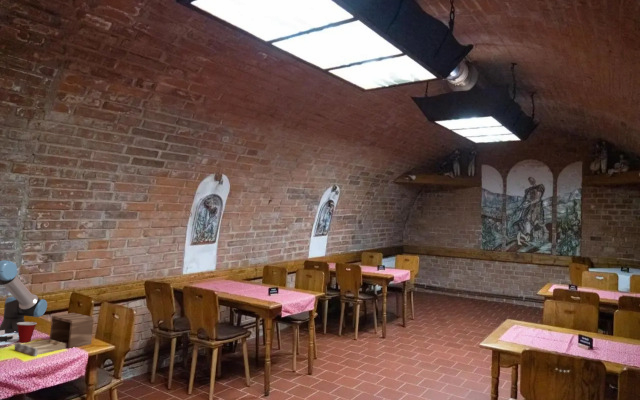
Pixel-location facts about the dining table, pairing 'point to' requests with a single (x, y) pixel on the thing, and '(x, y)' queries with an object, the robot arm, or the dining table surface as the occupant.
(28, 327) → the plastic cup
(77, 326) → the block
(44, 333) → the dining table surface
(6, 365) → the dining table surface
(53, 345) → the tray
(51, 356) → the dining table surface
